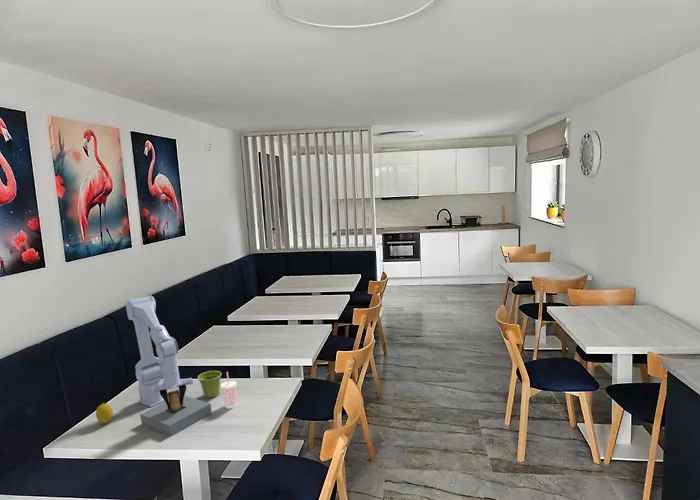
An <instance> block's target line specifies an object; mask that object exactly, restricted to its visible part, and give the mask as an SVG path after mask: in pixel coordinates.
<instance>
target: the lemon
mask: <svg viewBox="0 0 700 500" xmlns="http://www.w3.org/2000/svg"><path fill="white" fill-rule="evenodd" d="M95 416H96V419H97V421H98V422H99V423H104V424H107V423H108V422H109V421H110V420H112V418H113V408H112V406H111V405H110V404H109V403H104V402H103V403H101V404H100V405H99V406H97V409H96V412H95Z"/></svg>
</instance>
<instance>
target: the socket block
mask: <svg viewBox="0 0 700 500" xmlns="http://www.w3.org/2000/svg"><path fill="white" fill-rule="evenodd" d="M181 409H182V410H180V411H179V412H177V413H175V414H173V413H171V412H170V409H168V407H167V404H166V402H165V401H163V402H161V403H159V404H157V406H156V405H155V406H153V407H152V408H150V409H148V410H146V411H144V412H142V413H140V420H141V425H142V426H145V427H147V428H150V429H152V430H155V431H157V432H160V433H162V434H165V435H167V436H170V437H173V436H174V435H176V434H178V433H180V432H181V431H183V430H185V429H187V428H189V427H190V426H192V425H193V424H195V423H197V422H199V421H201V420H202V419H205V418H207V417H208V416H210V415H211V414H213V412H212V404H211V403H209V402H207V401H203V400H200V399H197V398H194V397H191V396H188V395H184V399H183V405H182V406H181Z"/></svg>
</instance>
